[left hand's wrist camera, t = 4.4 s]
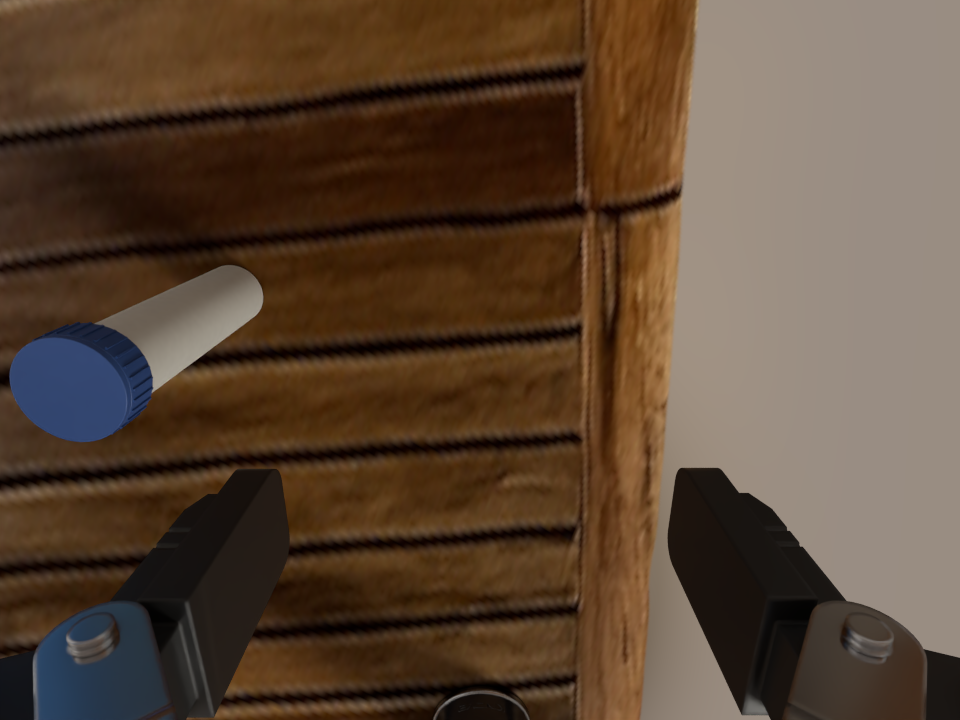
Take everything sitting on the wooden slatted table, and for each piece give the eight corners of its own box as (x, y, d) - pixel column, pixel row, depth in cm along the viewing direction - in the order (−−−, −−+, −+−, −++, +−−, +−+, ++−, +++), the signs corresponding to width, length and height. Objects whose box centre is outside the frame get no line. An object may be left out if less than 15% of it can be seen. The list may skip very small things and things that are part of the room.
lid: (177, 383, 26) (153, 402, 24) (106, 441, 27) (77, 463, 25) (92, 299, 25) (58, 312, 23) (20, 363, 26) (-18, 380, 24)
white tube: (275, 299, 40) (144, 396, 24) (234, 332, 41) (82, 446, 25) (233, 253, 39) (67, 323, 23) (192, 288, 40) (6, 378, 24)
